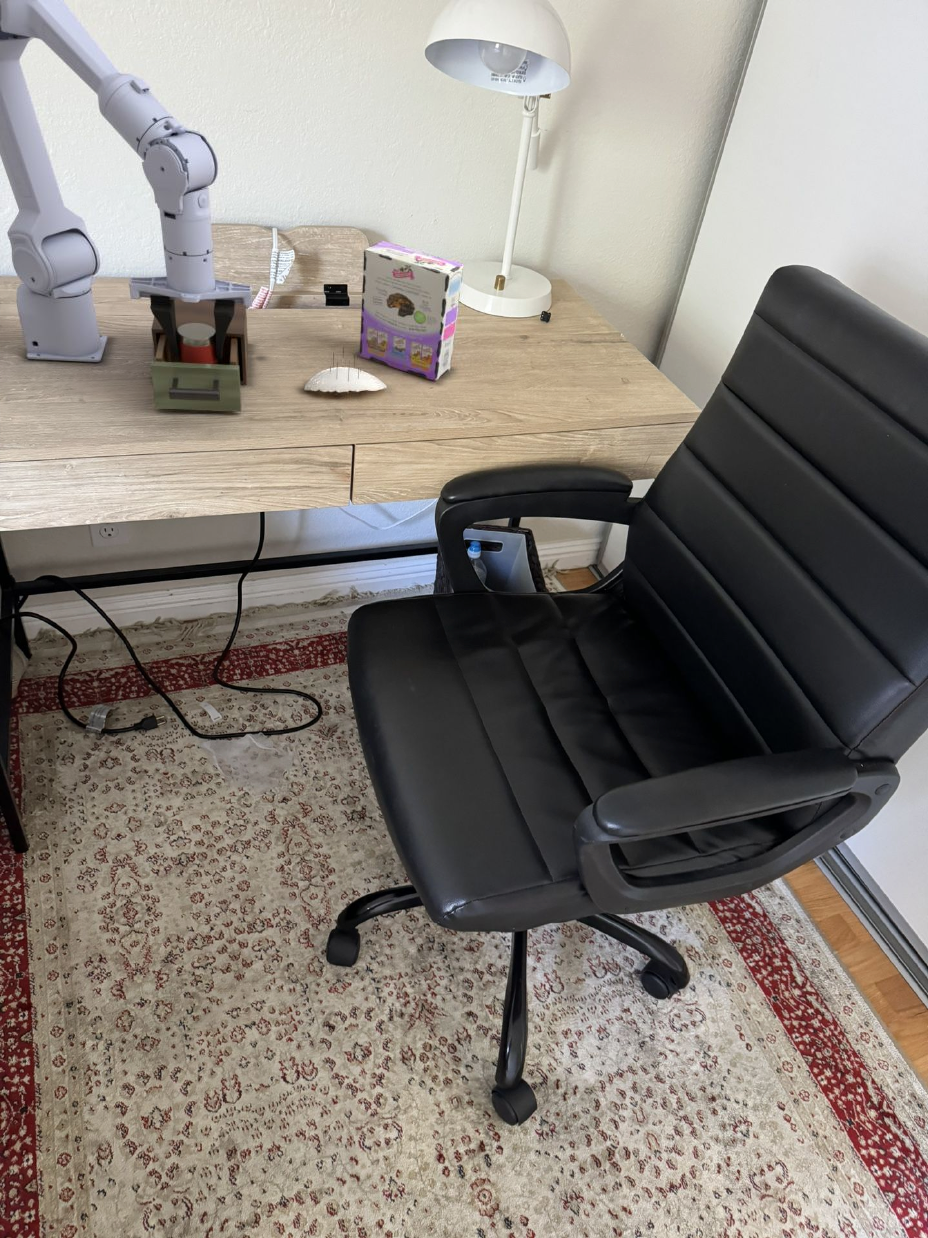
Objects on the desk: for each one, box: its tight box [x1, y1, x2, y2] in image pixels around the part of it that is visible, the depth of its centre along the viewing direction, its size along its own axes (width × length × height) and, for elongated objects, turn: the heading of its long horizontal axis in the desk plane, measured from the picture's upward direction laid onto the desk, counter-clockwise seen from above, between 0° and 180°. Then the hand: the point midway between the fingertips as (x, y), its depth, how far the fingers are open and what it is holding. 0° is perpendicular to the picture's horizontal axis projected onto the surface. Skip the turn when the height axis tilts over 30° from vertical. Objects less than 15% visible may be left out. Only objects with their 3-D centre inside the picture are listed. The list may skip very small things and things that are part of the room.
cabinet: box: [151, 299, 249, 386], centre depth 115 cm, size 13×12×8 cm
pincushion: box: [303, 347, 387, 395], centre depth 115 cm, size 12×6×6 cm, turn 106°
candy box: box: [358, 240, 465, 382], centre depth 121 cm, size 14×6×16 cm, turn 65°
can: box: [177, 323, 218, 364], centre depth 106 cm, size 5×5×5 cm
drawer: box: [149, 333, 242, 412], centre depth 107 cm, size 16×11×6 cm, turn 10°
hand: (197, 354), depth 106 cm, fingers closed on can, 5 cm apart
